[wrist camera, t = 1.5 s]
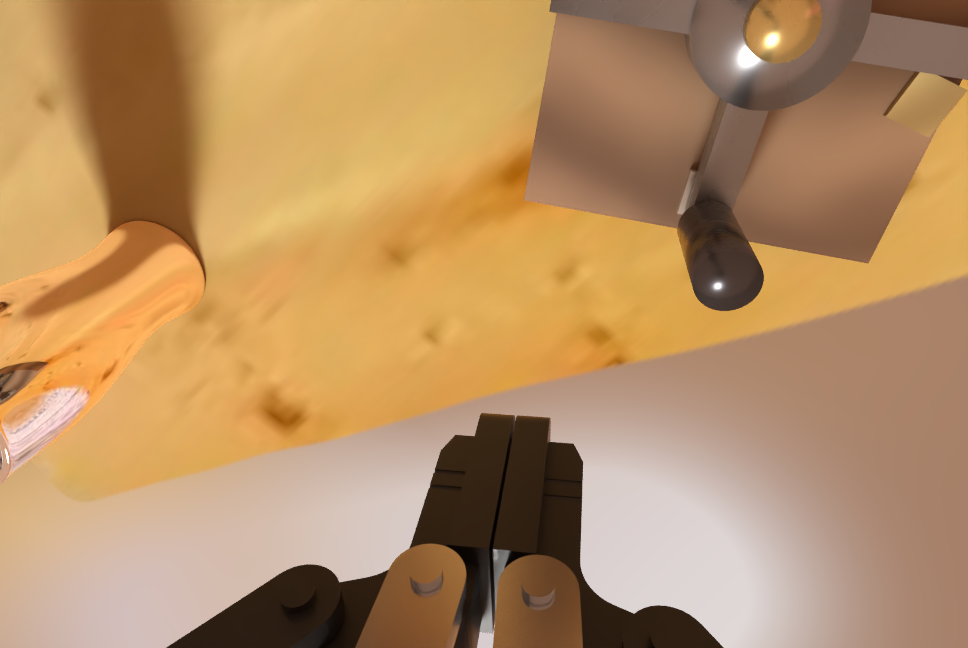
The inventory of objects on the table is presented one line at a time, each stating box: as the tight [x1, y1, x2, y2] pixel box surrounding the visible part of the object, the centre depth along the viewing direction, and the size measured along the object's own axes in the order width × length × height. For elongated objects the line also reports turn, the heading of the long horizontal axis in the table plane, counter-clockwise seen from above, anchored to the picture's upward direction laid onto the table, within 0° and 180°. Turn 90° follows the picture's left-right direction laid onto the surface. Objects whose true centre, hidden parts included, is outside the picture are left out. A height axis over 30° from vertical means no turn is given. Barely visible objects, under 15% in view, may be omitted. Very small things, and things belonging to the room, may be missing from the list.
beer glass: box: [0, 221, 205, 484], centre depth 31 cm, size 7×7×15 cm
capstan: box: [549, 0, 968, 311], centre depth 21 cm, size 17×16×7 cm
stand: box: [524, 0, 968, 263], centre depth 25 cm, size 18×16×2 cm
